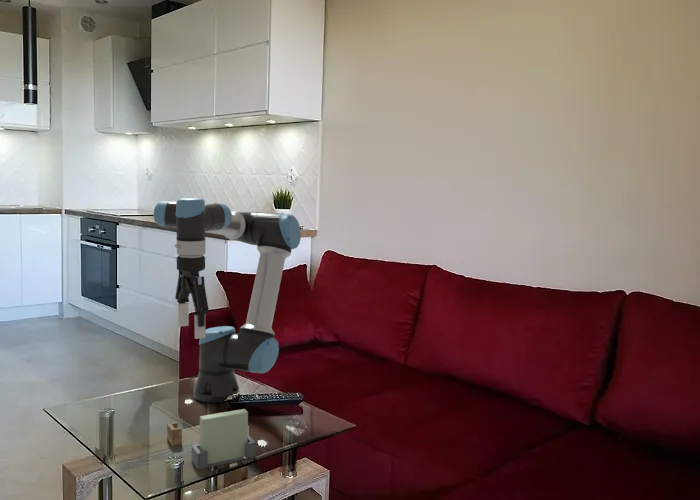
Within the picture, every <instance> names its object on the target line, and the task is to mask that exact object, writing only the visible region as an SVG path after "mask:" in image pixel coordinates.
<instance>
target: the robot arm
mask: <svg viewBox="0 0 700 500" xmlns="http://www.w3.org/2000/svg"><path fill="white" fill-rule="evenodd" d="M205 202H206V201H205V200H204V199H203V198H198V197H188V198H187V197H186V198H185V197H184V198H183V197H181V198H179V199H177V201H170V200H168V201H167V200H166V201H159V202H158V203H157V204H156V205H155V206H154V209H153V219H154V222H155V223H156V224H157V225H158V226H159V227H165V228H174V229H176V237H175V238H176V244H174V247H175V248H176V255H178V256H177V257H176V269H177V271H178V276H177V277H178V278H177V284H176V285H177V286H176V290H175V291H176V292H175V297H174V298H175V300H176V301H177V305H178V306H177V307H178V309H177V310H178V311H177V312H178V313H177V315H178V316H177V317H178V318H177V320H178V328H179V327H188V326H190V324H189V323H190V320H189V315H190V314H189V313H190V312H189V310H190V309H189V303H190V299H189V298H190V295H191V300H192V302H193V306H194V310H195V312H193V316H194V339H199V342H198V349H199V351H198V353H199V354H198V356H199V357H198V359H199V360H198V365H199V366H198V375H197V378H196V381H195V384H194V386H193V398H194V399H195V400H196V401H199V402H202V403H209V404H210V403H211V404H212V403H213V404H215V403H216V402H220V403H222V402H221V401H224V400H226V399H227V397H228V396H229V395H233V394H237V393H238V392H239V393H240V387H239V383H238V380H237V377H236V373H235V370H238V371H243V372H249V373H252V374H253V373H255V374H265V373H268V372H269V371H270V370H271V369H272V368H273V366H274V365H275V363H276V361H277V359H278V357H279V353H280V352H279V351H280V347H279V342H278V340H277V339H276V338H275V335H276V334H275V332H274V330H273V328H272V327H273V321H274V316H275V312H276V306H277V302H278V297H279V292H280V287H281V281H282V277H283V271H284V267H285V261H286V259H287V258H289V256H291V253H292V250H295V249H297V248H298V247H299V245H300V244H301V238H302V237H301V226H300V223H299V221H298V219H297V217H296V216H294V215H293V214H289V213H284V212H280V213H279V212H275V213H274V212H260V211H245V212H244V211H231V208H229V206H228V205H226V204H224V203H218V202H217V203H216V202H214V203H205ZM206 233H209V234H214V235H220V236H224V237H225V238H226V239H229V240H232V241H237V242H241V243H244V244H249V245H252V246H257V247H256V249H257V251H258V253H259V259H258V262H257V269H256V272H255V277H254V278H255V279H254V283H253V287H252V293H251V297H250V301H249V307H248V312H247V316H246V322H245V323H244V324H243V325H242V326H240V327H239V332H238V333H236V332H237V331H236V328H235V327H234V326H232V325H231V326H229V325H222V326H215V327H209V328H206V315H207V314H209V313H210V310H209V305H208V297H207V293H206V286H205V285H206V284H205V277H204V276H200V272H201V271H205V269H206V257H205V254H206ZM216 404H217V403H216Z"/></svg>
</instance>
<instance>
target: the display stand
mask: <svg viewBox="0 0 700 500" xmlns="http://www.w3.org/2000/svg"><path fill="white" fill-rule="evenodd" d="M199 445H200V443H197V444H193V445H191V462H192V464H193V465H194V467H195V468H196V469H197V470H202V469H206V468H207V469H208V468H212V467H215V466H217V467H218V466H220V465H226V464H231V463H235V462H240V460H241V461H243V460H242V458H243V457H240V458H235V459H231V460H226V461H221V462H216V463H211V464H207V457H208V452H207V451H202V452H201V451H200V450H199ZM254 455H255V456H256V441H255V439H253V437H251V435H249V434H248V439H247V443H246V451H245V457H246V458H248V457H252V456H254Z"/></svg>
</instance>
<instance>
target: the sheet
mask: <svg viewBox="0 0 700 500" xmlns="http://www.w3.org/2000/svg"><path fill="white" fill-rule="evenodd" d="M248 425H249V411H247V409H245V408H242V409H237V410H236V409H235V410H230V411H224V412H223V411H222V412H218V413H212V414H206V415H201V416H199V444H200V445H199V450H200V451H201V452H202V451H207V452H208V457H207V464H211V463H216V462H221V461H226V460H231V459H235V458H240V457H244V456H245V451H246V443H247V439H248V435H249V433H248V432H249V427H248Z"/></svg>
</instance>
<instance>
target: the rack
mask: <svg viewBox="0 0 700 500" xmlns="http://www.w3.org/2000/svg"><path fill="white" fill-rule="evenodd" d="M166 426H167V427H166V429H167V431H166V433H167V435H166V439H167V441H168V442H169V444H170V445H171V446H172V447H173V446H179V445H182V444H183V443H182V442H183V428H182V427H179V423H178V421H174V422H169V423H168V422H167V425H166Z"/></svg>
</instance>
